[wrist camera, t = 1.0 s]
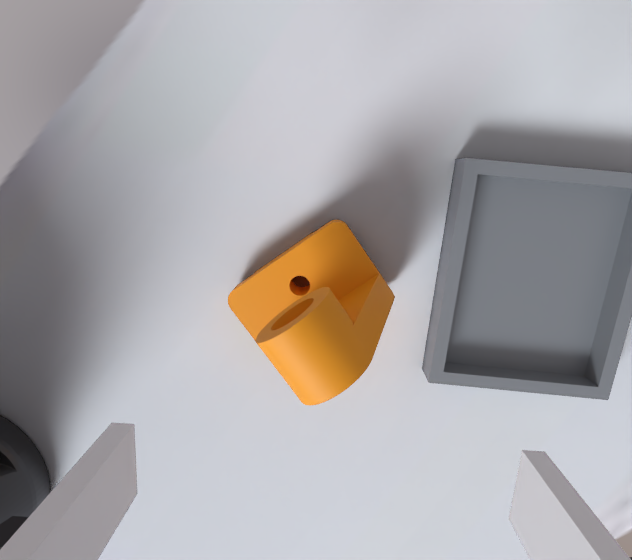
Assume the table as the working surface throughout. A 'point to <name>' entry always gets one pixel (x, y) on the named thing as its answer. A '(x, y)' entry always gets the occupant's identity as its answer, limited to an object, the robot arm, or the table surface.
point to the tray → (532, 279)
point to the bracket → (317, 312)
